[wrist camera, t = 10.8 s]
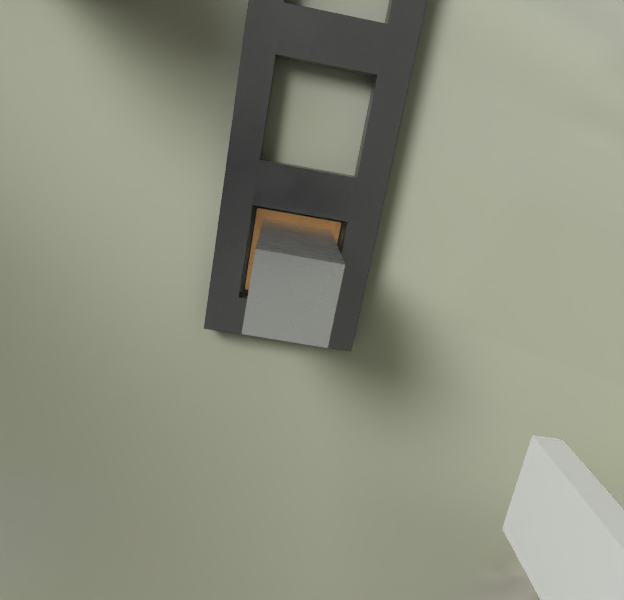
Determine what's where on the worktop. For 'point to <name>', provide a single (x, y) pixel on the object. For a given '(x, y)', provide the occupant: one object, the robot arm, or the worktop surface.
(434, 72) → the worktop surface
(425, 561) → the worktop surface
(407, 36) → the dark grey slotted board
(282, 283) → the steel peg
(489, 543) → the worktop surface
